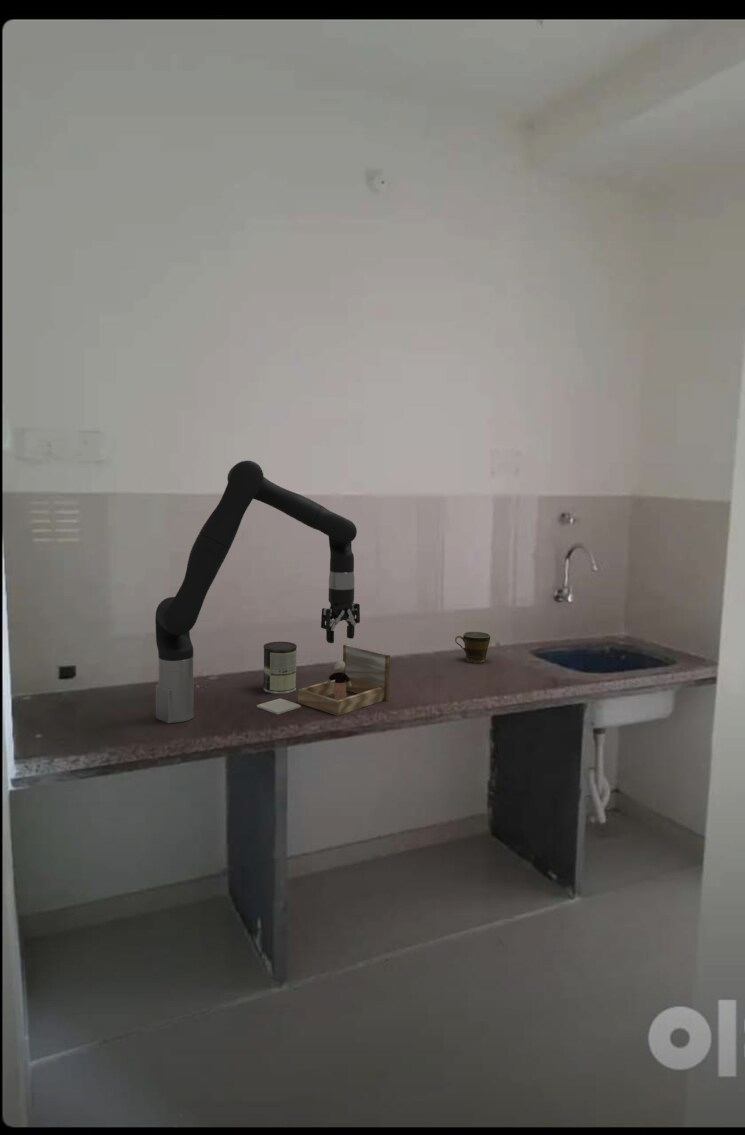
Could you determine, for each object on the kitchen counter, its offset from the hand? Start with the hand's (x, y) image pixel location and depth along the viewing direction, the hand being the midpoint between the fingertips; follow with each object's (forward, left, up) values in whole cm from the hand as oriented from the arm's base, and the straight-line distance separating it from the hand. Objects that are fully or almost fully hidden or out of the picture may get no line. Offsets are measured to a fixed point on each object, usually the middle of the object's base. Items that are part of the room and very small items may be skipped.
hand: (340, 640), depth 218 cm
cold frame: (+1, 0, -19) cm, 19 cm away
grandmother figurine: (0, 0, -19) cm, 19 cm away
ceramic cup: (+70, -1, -19) cm, 73 cm away
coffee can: (-4, +22, -19) cm, 29 cm away
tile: (-16, +9, -19) cm, 26 cm away
